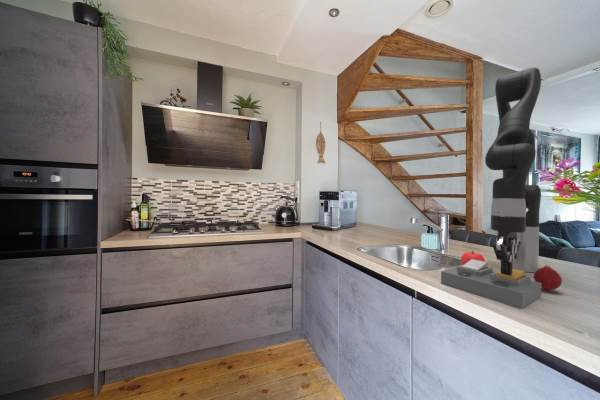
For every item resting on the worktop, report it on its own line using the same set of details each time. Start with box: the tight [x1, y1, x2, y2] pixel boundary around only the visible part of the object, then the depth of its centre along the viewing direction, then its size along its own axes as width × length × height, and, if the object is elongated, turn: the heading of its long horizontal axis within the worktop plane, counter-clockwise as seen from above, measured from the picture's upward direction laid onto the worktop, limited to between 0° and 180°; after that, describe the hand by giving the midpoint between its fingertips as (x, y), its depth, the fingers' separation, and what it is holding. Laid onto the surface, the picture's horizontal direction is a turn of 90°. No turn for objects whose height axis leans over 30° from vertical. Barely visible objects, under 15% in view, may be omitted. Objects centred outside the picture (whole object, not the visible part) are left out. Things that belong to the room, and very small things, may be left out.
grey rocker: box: [462, 259, 489, 271], centre depth 76 cm, size 7×4×1 cm, turn 121°
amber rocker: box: [495, 269, 525, 281], centre depth 68 cm, size 7×4×1 cm, turn 121°
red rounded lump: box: [533, 263, 563, 292], centre depth 71 cm, size 6×6×8 cm
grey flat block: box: [440, 265, 542, 310], centre depth 71 cm, size 14×20×5 cm
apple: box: [460, 250, 486, 266], centre depth 89 cm, size 8×8×8 cm
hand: (506, 274), depth 67 cm, fingers closed
